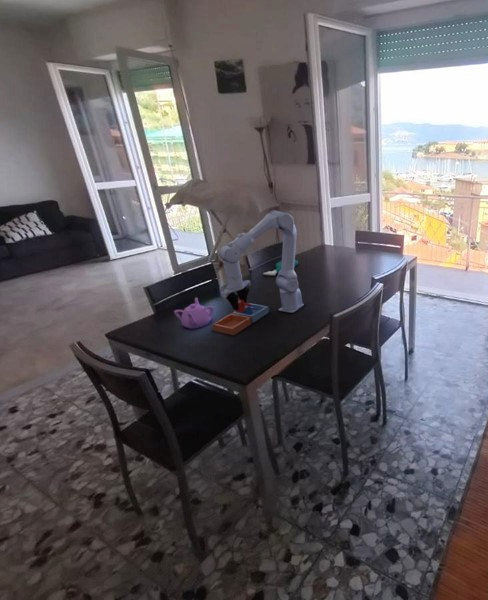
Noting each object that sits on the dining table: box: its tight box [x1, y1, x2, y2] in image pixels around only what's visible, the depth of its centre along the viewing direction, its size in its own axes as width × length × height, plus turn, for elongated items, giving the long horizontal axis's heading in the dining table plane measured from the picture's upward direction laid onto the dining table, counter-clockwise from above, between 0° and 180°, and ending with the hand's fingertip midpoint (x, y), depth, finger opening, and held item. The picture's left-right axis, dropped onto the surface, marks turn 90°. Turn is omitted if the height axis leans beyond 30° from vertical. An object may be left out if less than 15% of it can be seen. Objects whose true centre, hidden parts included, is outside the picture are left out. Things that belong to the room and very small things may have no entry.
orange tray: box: [211, 313, 253, 336], centre depth 147 cm, size 11×11×3 cm
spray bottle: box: [262, 259, 299, 276], centre depth 213 cm, size 3×11×24 cm
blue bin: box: [232, 302, 270, 324], centre depth 157 cm, size 11×11×3 cm
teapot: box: [173, 297, 215, 330], centre depth 150 cm, size 12×14×9 cm
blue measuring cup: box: [243, 305, 258, 315], centre depth 157 cm, size 8×4×4 cm, turn 68°
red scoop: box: [234, 299, 251, 312], centre depth 145 cm, size 8×4×4 cm, turn 69°
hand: (239, 307), depth 146 cm, fingers closed on red scoop, 4 cm apart
